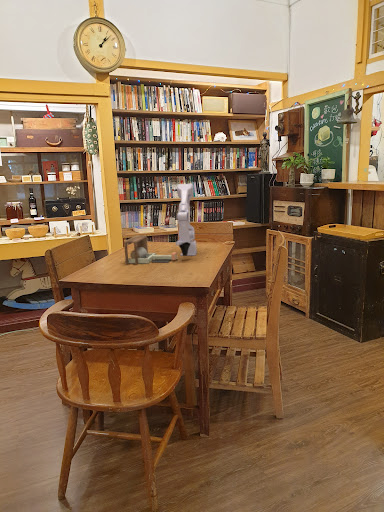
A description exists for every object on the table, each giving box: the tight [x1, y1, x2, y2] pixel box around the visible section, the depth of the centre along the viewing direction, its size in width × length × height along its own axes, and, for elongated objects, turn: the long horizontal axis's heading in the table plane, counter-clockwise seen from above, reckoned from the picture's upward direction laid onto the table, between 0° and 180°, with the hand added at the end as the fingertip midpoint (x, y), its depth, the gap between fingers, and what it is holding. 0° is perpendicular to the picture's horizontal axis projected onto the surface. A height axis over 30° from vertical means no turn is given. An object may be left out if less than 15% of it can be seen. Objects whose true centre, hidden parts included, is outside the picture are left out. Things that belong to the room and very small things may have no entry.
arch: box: [123, 234, 149, 266], centre depth 219 cm, size 7×22×14 cm, turn 170°
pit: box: [151, 259, 173, 264], centre depth 217 cm, size 10×12×1 cm
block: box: [124, 251, 178, 264], centre depth 218 cm, size 28×17×4 cm, turn 80°
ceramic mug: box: [129, 247, 148, 258], centre depth 218 cm, size 11×8×8 cm
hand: (185, 255), depth 214 cm, fingers closed
